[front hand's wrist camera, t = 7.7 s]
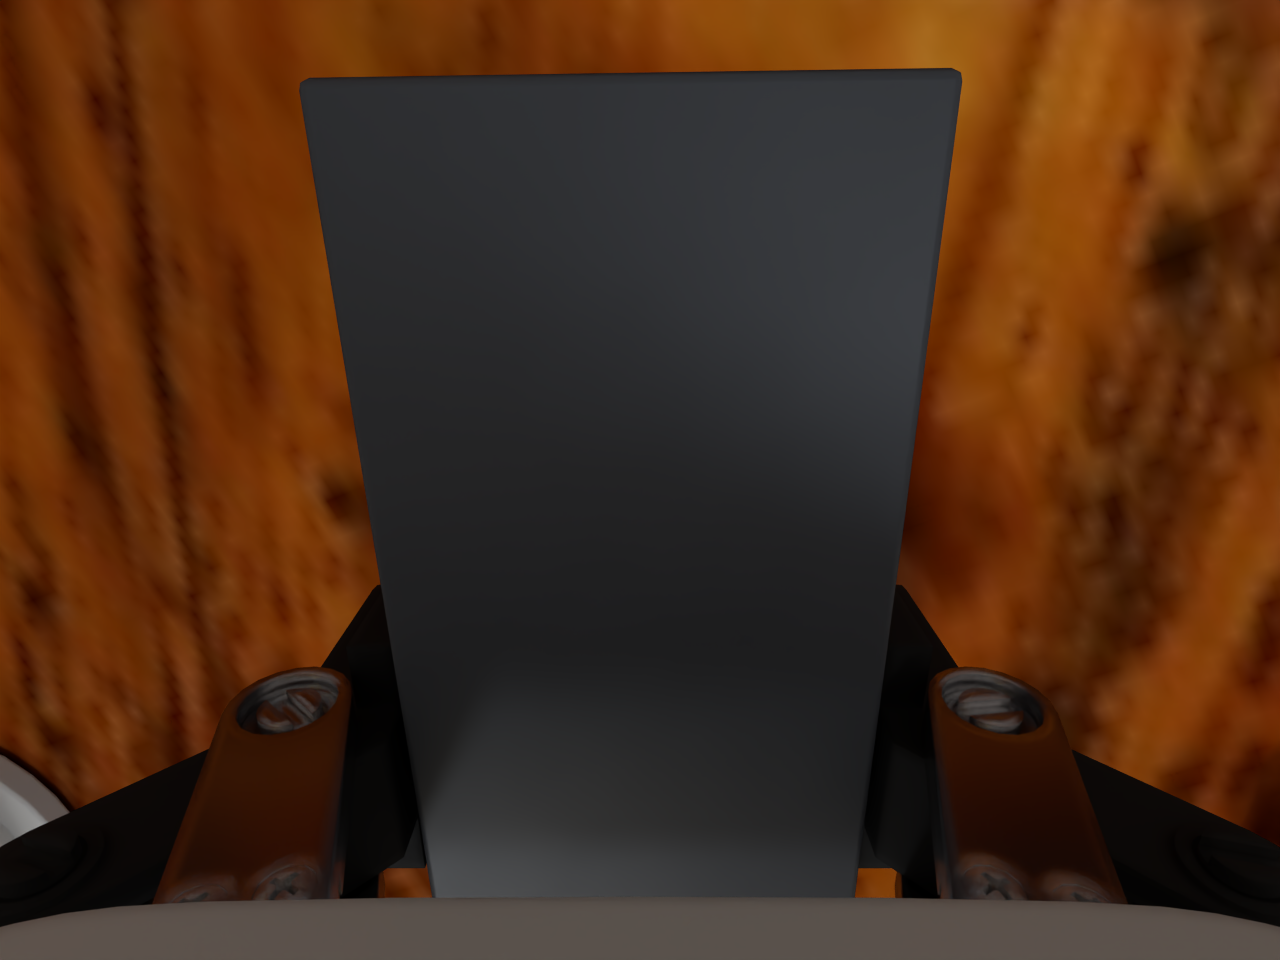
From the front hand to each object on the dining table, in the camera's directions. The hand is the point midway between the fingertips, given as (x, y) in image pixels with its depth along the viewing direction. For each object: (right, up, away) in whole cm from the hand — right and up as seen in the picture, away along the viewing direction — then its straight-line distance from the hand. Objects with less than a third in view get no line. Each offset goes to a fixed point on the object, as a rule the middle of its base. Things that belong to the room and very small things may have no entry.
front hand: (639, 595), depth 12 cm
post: (0, -24, +12) cm, 27 cm away
